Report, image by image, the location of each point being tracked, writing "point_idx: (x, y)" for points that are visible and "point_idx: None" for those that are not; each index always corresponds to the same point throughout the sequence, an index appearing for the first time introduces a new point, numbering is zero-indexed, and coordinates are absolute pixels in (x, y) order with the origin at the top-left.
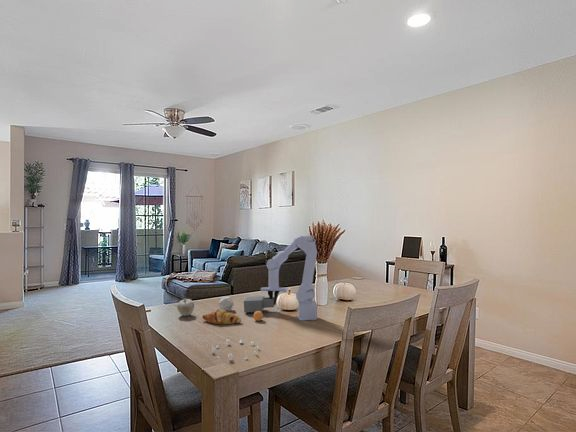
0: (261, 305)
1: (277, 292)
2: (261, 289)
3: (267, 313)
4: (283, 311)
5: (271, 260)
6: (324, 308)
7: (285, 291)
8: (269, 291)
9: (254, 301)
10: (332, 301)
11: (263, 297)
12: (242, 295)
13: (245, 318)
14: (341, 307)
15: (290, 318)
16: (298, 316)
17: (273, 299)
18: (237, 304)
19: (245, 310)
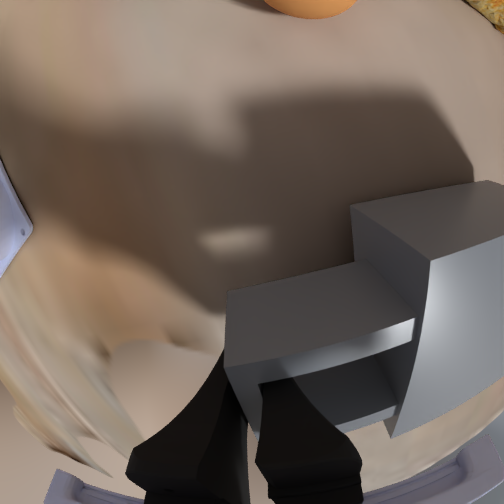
0: (391, 224)
1: (151, 485)
2: (490, 468)
3: (300, 246)
4: (179, 337)
5: None
6: (41, 396)
7: (60, 475)
8: (329, 499)
9: (500, 227)
10: (87, 457)
11: (404, 403)
12: (453, 446)
13: (433, 50)
14: (18, 401)
15: (49, 167)
16: (15, 214)
17: (227, 372)
18: None
19: (492, 184)
